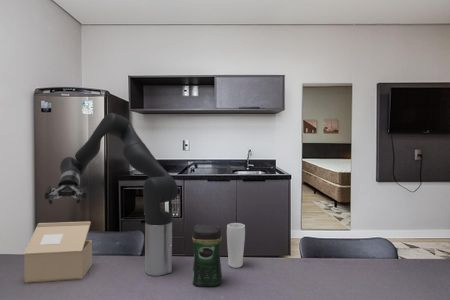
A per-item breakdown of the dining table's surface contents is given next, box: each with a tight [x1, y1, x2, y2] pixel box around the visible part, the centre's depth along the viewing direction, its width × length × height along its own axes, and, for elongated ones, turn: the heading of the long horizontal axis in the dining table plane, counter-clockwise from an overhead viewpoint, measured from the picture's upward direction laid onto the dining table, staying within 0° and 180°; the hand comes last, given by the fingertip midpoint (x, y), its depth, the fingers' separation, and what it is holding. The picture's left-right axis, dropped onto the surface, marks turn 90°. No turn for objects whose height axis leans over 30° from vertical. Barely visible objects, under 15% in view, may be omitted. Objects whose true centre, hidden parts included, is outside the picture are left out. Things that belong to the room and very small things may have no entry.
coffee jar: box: [191, 224, 223, 287], centre depth 93 cm, size 10×8×19 cm
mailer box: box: [23, 239, 93, 284], centre depth 98 cm, size 17×12×9 cm
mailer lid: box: [23, 220, 92, 256], centre depth 96 cm, size 17×12×1 cm
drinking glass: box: [226, 222, 246, 269], centre depth 106 cm, size 7×7×15 cm
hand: (64, 202), depth 105 cm, fingers open, 8 cm apart
